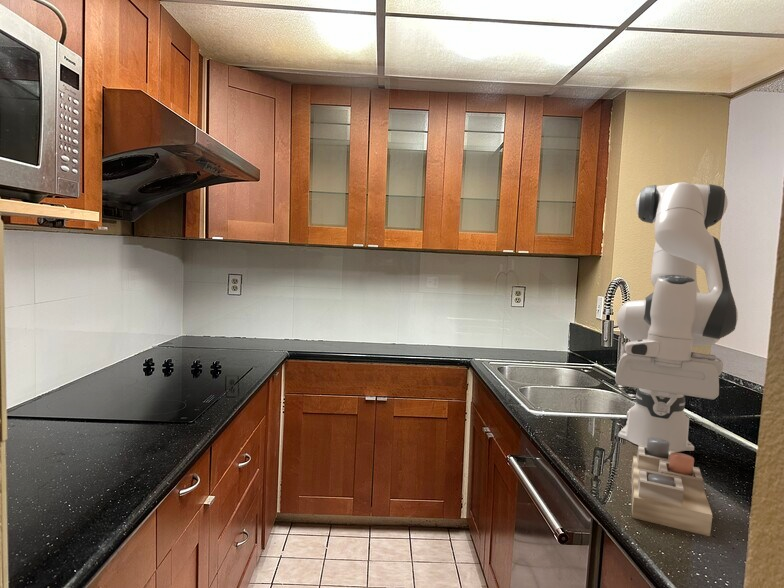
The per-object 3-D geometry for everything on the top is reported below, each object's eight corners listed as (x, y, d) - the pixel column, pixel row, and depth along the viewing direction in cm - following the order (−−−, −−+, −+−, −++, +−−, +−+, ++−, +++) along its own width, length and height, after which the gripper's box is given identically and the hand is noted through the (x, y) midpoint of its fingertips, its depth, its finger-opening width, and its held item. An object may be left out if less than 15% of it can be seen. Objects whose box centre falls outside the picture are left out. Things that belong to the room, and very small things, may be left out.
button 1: (645, 449, 122) (647, 436, 122) (667, 453, 120) (668, 440, 120) (646, 455, 118) (647, 441, 118) (668, 459, 116) (670, 446, 116)
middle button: (667, 464, 113) (669, 450, 113) (691, 469, 111) (693, 455, 111) (669, 471, 109) (670, 457, 109) (693, 477, 107) (695, 462, 107)
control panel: (631, 472, 126) (634, 443, 125) (694, 485, 121) (698, 455, 120) (631, 517, 103) (635, 482, 102) (709, 536, 98) (714, 499, 97)
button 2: (646, 486, 108) (648, 471, 108) (671, 491, 106) (672, 477, 106) (647, 494, 104) (648, 479, 103) (672, 500, 102) (674, 485, 102)
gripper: (721, 354, 116) (714, 417, 117) (619, 341, 124) (612, 400, 125) (726, 358, 110) (718, 424, 111) (618, 344, 118) (612, 406, 119)
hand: (661, 411), depth 118 cm, fingers closed
